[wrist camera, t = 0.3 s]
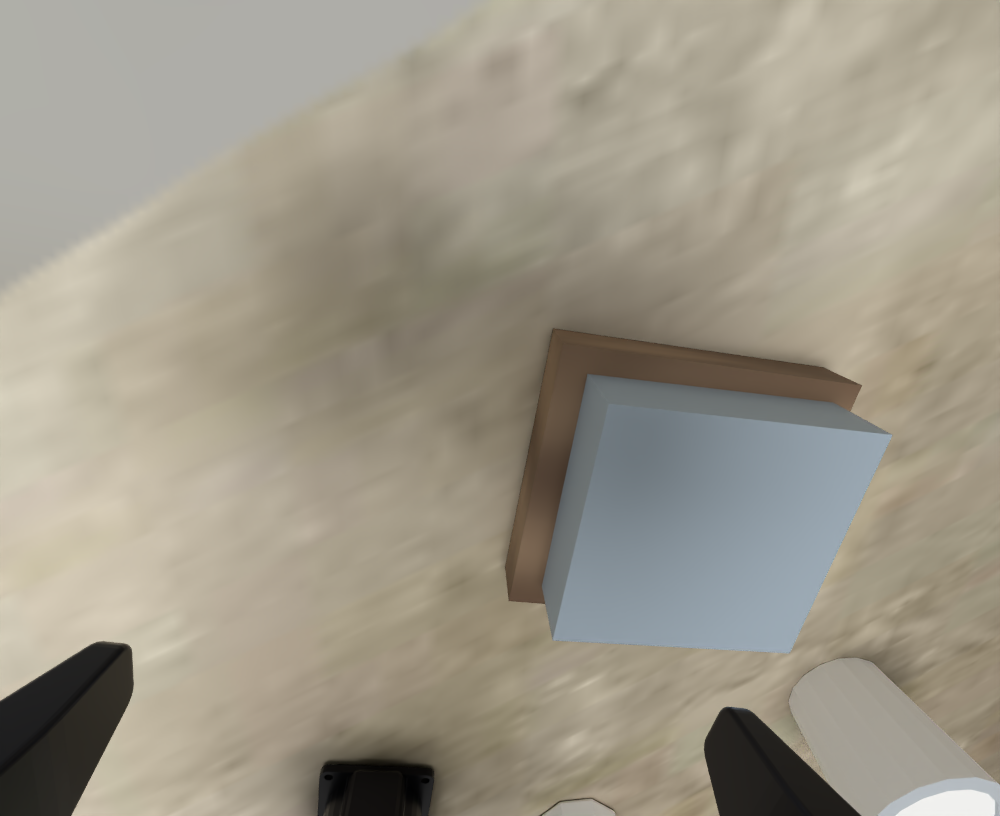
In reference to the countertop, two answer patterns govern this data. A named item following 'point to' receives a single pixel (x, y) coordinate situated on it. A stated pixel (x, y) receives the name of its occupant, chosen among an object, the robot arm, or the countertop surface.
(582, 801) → the pepper shaker
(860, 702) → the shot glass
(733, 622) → the tower top
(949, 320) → the countertop surface
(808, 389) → the tower base
